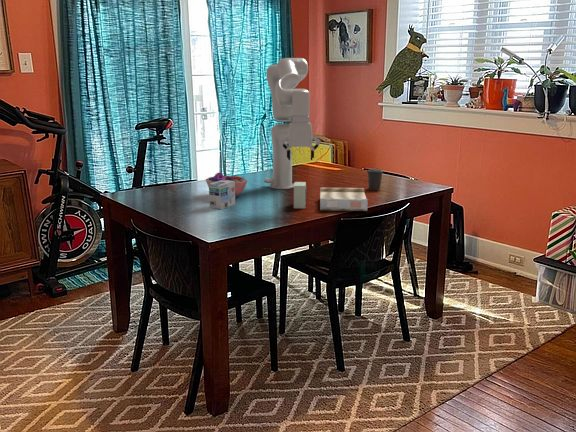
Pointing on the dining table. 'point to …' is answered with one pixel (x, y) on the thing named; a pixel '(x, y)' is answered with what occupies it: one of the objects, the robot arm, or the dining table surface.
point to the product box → (299, 194)
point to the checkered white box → (343, 199)
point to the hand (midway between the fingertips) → (300, 159)
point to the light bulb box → (222, 194)
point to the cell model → (239, 181)
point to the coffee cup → (374, 178)
